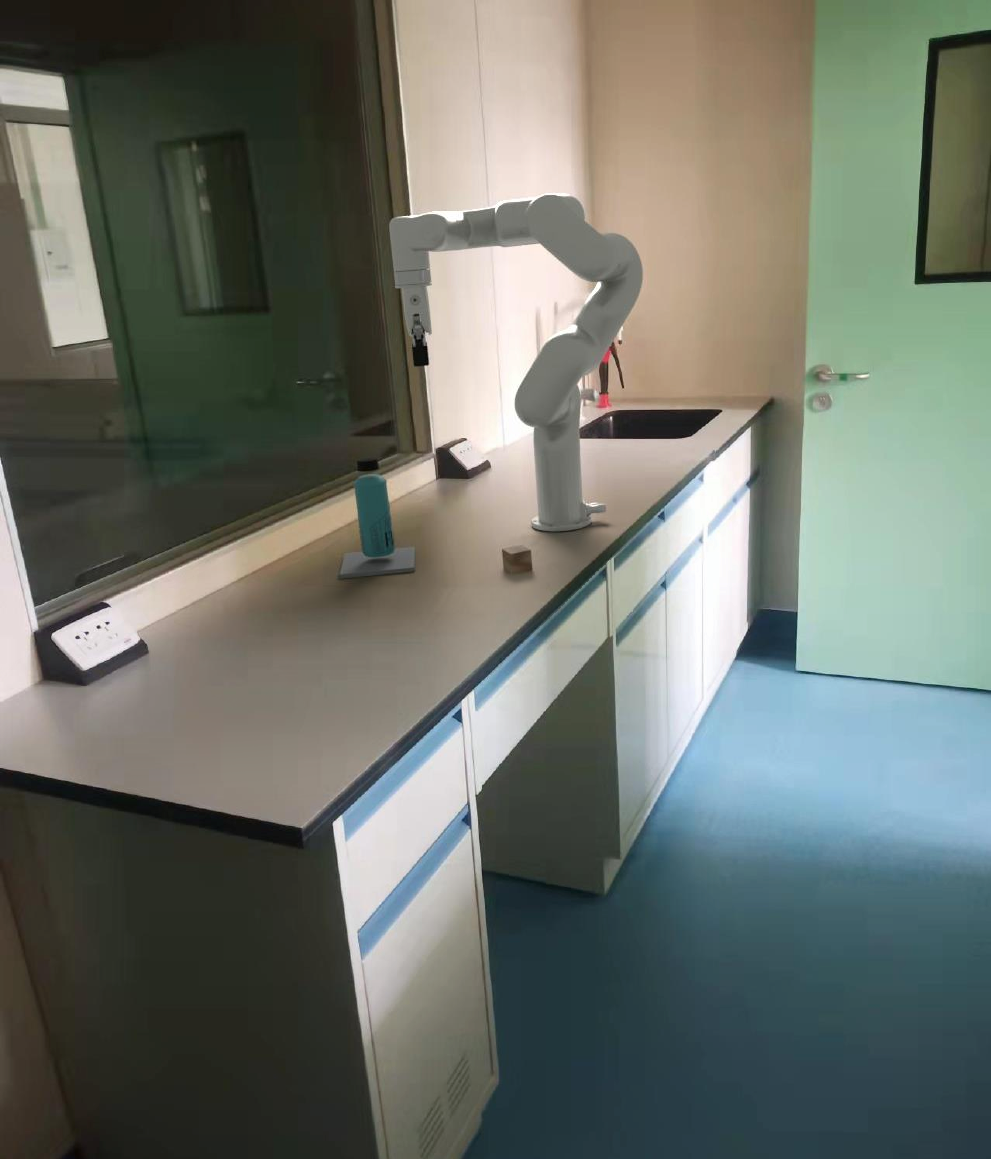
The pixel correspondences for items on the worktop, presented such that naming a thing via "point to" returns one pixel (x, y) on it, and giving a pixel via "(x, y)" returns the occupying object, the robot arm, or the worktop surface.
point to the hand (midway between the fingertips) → (421, 363)
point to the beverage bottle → (373, 510)
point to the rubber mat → (378, 563)
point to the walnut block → (517, 559)
